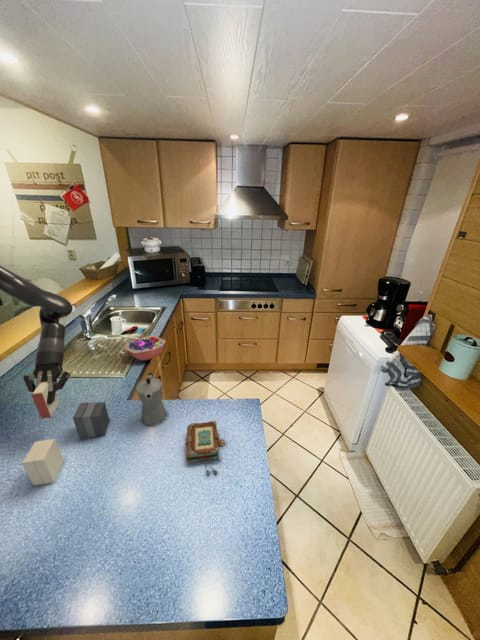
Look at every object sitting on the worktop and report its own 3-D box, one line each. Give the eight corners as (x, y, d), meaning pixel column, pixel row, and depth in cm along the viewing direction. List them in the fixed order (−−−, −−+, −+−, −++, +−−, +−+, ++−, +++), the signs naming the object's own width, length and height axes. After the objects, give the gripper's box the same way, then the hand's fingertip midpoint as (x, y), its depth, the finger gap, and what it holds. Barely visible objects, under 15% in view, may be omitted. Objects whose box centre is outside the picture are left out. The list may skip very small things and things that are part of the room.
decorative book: (185, 478, 76) (183, 467, 74) (187, 431, 92) (186, 421, 89) (228, 472, 78) (228, 461, 76) (223, 427, 94) (223, 417, 91)
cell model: (166, 363, 131) (164, 344, 126) (125, 368, 126) (121, 348, 121) (167, 347, 146) (164, 329, 141) (130, 350, 141) (126, 333, 136)
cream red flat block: (41, 418, 81) (31, 394, 77) (51, 403, 88) (42, 380, 84) (50, 417, 82) (40, 393, 78) (59, 402, 88) (51, 379, 84)
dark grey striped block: (79, 439, 88) (72, 417, 84) (86, 423, 94) (80, 403, 90) (104, 435, 89) (98, 414, 85) (109, 420, 96) (104, 400, 91)
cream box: (33, 485, 73) (21, 462, 69) (45, 463, 79) (35, 441, 75) (53, 482, 74) (43, 459, 70) (63, 460, 80) (54, 438, 76)
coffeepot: (167, 426, 93) (161, 388, 86) (140, 432, 91) (132, 393, 83) (166, 398, 107) (161, 363, 99) (143, 402, 104) (136, 367, 97)
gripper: (20, 351, 82) (11, 407, 76) (67, 348, 85) (62, 401, 79) (34, 356, 89) (26, 407, 83) (77, 353, 92) (73, 402, 86)
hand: (44, 404), depth 81 cm, fingers closed on cream red flat block, 2 cm apart
